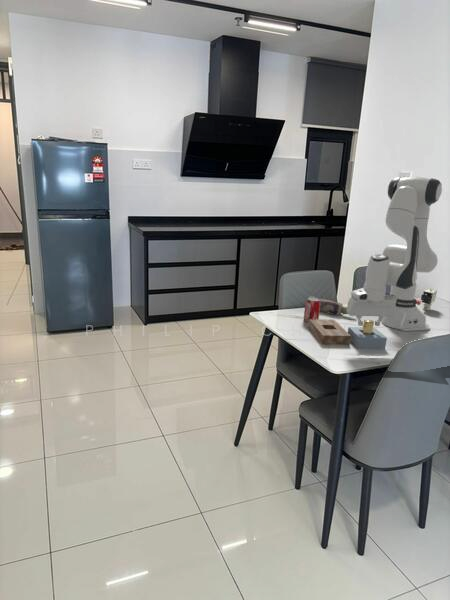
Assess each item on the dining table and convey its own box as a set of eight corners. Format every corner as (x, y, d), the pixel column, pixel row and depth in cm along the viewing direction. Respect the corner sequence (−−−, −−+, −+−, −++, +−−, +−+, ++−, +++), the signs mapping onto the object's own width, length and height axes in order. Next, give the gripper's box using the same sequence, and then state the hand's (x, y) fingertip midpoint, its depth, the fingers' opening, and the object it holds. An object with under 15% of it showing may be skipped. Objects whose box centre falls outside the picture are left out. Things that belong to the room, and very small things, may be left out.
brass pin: (368, 341, 191) (371, 319, 188) (372, 344, 187) (375, 322, 184) (359, 341, 190) (362, 319, 187) (363, 344, 186) (366, 322, 183)
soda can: (317, 326, 208) (321, 302, 205) (302, 324, 210) (305, 300, 206) (318, 321, 215) (321, 297, 212) (303, 319, 216) (306, 296, 213)
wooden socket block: (332, 329, 205) (334, 319, 203) (349, 346, 186) (350, 335, 184) (307, 329, 203) (309, 319, 202) (321, 346, 184) (323, 335, 183)
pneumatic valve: (433, 308, 249) (438, 288, 245) (428, 312, 240) (432, 291, 237) (423, 306, 252) (427, 286, 249) (417, 310, 243) (421, 289, 240)
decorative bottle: (304, 309, 233) (306, 297, 231) (310, 306, 239) (312, 294, 237) (352, 320, 219) (354, 308, 217) (357, 317, 225) (359, 305, 223)
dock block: (372, 340, 195) (374, 327, 193) (384, 351, 184) (387, 337, 182) (346, 339, 194) (348, 326, 192) (357, 350, 182) (359, 337, 181)
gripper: (393, 292, 186) (388, 323, 190) (347, 291, 184) (343, 322, 188) (401, 297, 180) (395, 328, 184) (353, 295, 178) (348, 327, 182)
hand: (368, 325), depth 186 cm, fingers open, 6 cm apart
